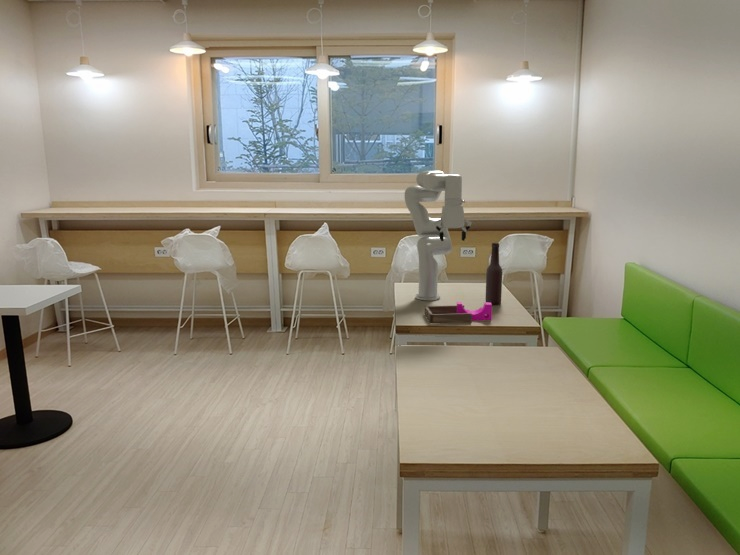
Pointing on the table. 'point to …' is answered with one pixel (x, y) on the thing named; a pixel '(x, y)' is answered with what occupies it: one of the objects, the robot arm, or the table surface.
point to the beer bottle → (494, 277)
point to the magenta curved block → (477, 311)
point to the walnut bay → (446, 315)
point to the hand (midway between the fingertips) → (452, 240)
